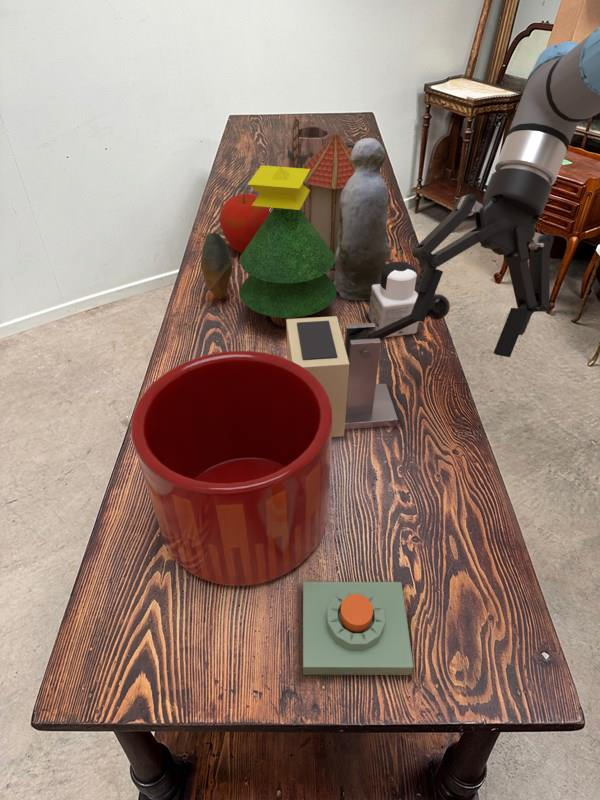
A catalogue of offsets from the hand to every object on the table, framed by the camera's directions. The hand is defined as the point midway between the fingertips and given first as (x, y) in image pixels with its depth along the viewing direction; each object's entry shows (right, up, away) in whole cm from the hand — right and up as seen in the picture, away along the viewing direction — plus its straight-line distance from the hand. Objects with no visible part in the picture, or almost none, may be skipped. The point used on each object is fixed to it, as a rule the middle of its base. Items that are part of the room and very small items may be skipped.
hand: (459, 338), depth 70 cm
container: (-2, +7, +39) cm, 39 cm away
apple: (-34, +28, +62) cm, 76 cm away
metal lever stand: (-11, -10, +21) cm, 26 cm away
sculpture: (-8, +17, +49) cm, 53 cm away
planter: (-28, -24, +6) cm, 38 cm away
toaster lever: (-5, +2, +11) cm, 12 cm away
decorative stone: (-38, +14, +46) cm, 61 cm away
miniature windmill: (-15, +28, +62) cm, 70 cm away
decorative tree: (-23, +9, +41) cm, 48 cm away
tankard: (-15, +44, +79) cm, 92 cm away
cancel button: (-14, -32, -9) cm, 37 cm away
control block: (-14, -35, -7) cm, 39 cm away
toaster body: (-18, -10, +20) cm, 29 cm away
